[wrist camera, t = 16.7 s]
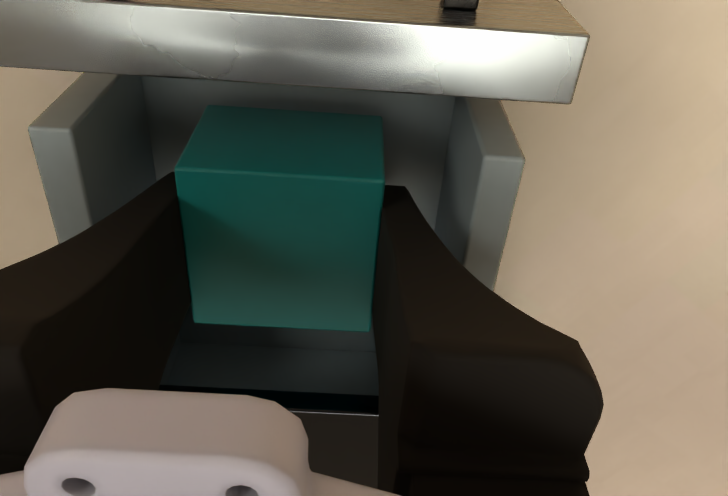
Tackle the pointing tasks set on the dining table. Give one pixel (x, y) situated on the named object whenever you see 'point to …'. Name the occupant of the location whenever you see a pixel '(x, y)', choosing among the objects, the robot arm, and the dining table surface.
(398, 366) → the robot arm
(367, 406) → the black storage box
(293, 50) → the drawer
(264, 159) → the block
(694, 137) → the dining table surface
